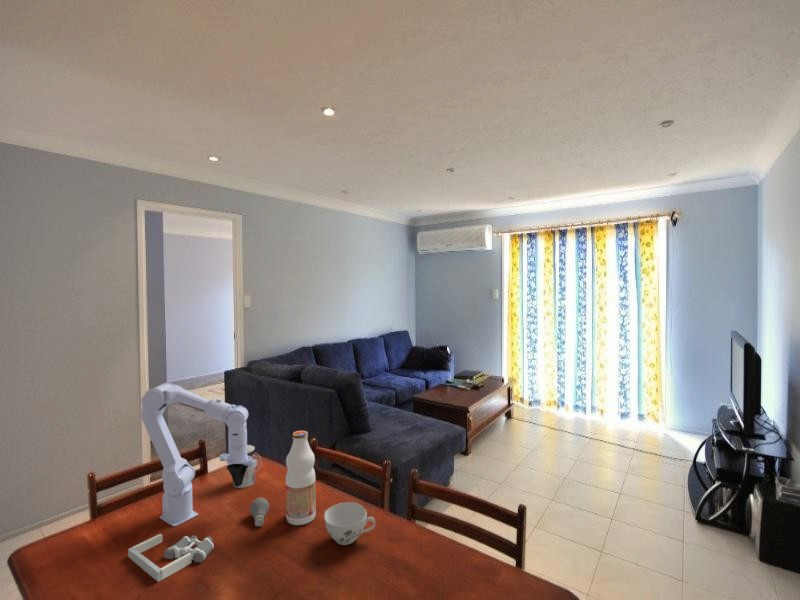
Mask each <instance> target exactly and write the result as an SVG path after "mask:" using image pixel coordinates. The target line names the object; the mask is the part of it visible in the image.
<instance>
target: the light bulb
mask: <svg viewBox="0 0 800 600" xmlns="http://www.w3.org/2000/svg"><path fill="white" fill-rule="evenodd" d="M269 509H270V504H269V501H268V500H267V499H266V498H264V497H257V498H255V499H254V500H253V501H252V502H251V503H250V506H249V512H250V515H251V516H252V517H253V519H254V525H255V527H259V528H260V527H262V526H263V525H264V521H265V520H264V519H265V517H266V515H267V513H268V512H269Z"/></svg>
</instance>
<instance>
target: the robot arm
mask: <svg viewBox="0 0 800 600" xmlns="http://www.w3.org/2000/svg"><path fill="white" fill-rule="evenodd" d="M140 402H141V404H142V407H141V416H140V417H141V421H142V422H143V425H144V428H145V429H146V431H147V434H148V436H149V438H150V440H151V443H152V445H153V447H154V450H155V451H156V453H157V456H158V458H159V461H160V462H161V465H162V467H163V469H162V474H161V479H162V481H163V485H162V487H163V491H164V493H163V495H162V499H161V501H162V502H161V503H162V515H159V519H161V520H162V521H164V522H165V523H167V524H168V525H170V526H172V527H176V526H179V525H181V524H183V523H185V522H187V521H189V520H191V519H193V518H195V517H198V516H199V513H198V512H196V511H194V510H193V509H194V508H193V507H194V506H193V484H192V481H193V480H194V478H195V476H196V470H195V469H194V467H193V466H192V465H190V464H189V462H188V460H187V459H185V458H183V457H181V453H180V452H179V450H178V446H177V445H176V443H175V441H174V438H173V436H172V433H171V432H170V429H169V427H168V425H167V423H166V421H165V418H164V415H163V414H164V412H165V411H166V408H167V407H168V405H172V404H177V403H181V404H184V405H187V406H190V407H194V408H196V409H199V410H202V411H203V412H204V414H205V415H206V416H207V417H210V418H212V419H215V420H218V421H221V422H223V423H225V424H226V426H227V427H228V440H227V441H228V453H225V452H224V453H221V454H219V462H224V461H225V462H226V464H227V466H226V469H227V470H228V472H229V474H230V476H231V478H232V482H234V485H235V486H237V487H238V486H240V485H242V482H243V478H244V476H246V475H245V473H246V472H247V471H246V470H247V468H248V467H250V466H251V468H253V469H254V467H257V466H258V459H255V458H254V457H253V458H254V459H253V458H251V457H252V456H250V455H248V454H247V445H248V429H247V427H248V426H247V420H248V418H249V411H248V409H247V407H244V406H243V405H236V404H231V403H228V402H225V401H223V399H222V398H221V397H218V398H213V399H210V400H209V399H206V398H205V397H203V396H201V395H198V394H196V393H194V392H192V391H190V390H187V389H186V388H183V387H181V386H180V385H177V384H174V383H171V382H164V383H161V384H160V385H157V386H155V387H154V388H153V387H152V388H150V389H148V390H147V391H146V392H145V393H144V395H142V398H141V400H140ZM245 421H246V422H245ZM234 485H233V486H234Z"/></svg>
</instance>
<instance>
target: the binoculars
mask: <svg viewBox="0 0 800 600" xmlns="http://www.w3.org/2000/svg"><path fill="white" fill-rule="evenodd" d="M214 544H215V543H214V541H213V538H212V537H211V536H206V537H205V538H204V539H203V540H201V541H200V540H199V539H198V537H197V536H196V535H191V536H190V537H189V536H187V535H185V536H183V537H182V538H181V539H180V540H179V541H177V542H175V543H174V544H173V545H171V546H169V547H168V548H167V549H166V550H164V551H163V558H164V559H165V560H166V559H168V560H173V559H174V558H175V559H179V558H181V557H182V556H184V555H186V554H188V553H191V561H193V562H194V563H200V564H201V563H203V561H204V560H205V559H206V558H207V556H208V555H209V554H210V553H211V552H212V550H213V549H214V546H215V545H214ZM196 545H197V546H196ZM193 546H195V547H194V548H192V547H193Z"/></svg>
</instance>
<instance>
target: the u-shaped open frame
mask: <svg viewBox="0 0 800 600" xmlns="http://www.w3.org/2000/svg"><path fill="white" fill-rule="evenodd" d="M161 543H163V534H162V533H159V534H156V535H154V536H152V537H150V538H149V539H146V540H144V541H142V542H140V543H138V544H136V545H134V546H132V547H131V546H130V547H129V548H128V549H127V550H128V554H127V556H128V558H129V559H130V560H131V561H133V562H134V563H135V564H136V565H137V566H139V567H140V568H141V569H142V570H143V571H144V572H145V573H147V574H148V575H149V576H150V577H151V578H153V579H154V580H155V581H156V582H157V583H159V582H161V581H162V580H163V581H164V579H166V578H168V577H170V576H172V575H173V574H175V573H176V572H178V571H181V570H182V569H184V568H185V567H187V566H189V565H190V564H192V560H191V553H189V552H188V553H187V554H185V555H183V556H182V557H180V558H176V559H174V560H173V561H172V562H169V563H168V564H166V565H164V566H163V567H161V568H160V567H159V566H158V565H156V564H155V563H154V562H152V561H151V560H150V559H149V558H148V557H146V556H145V555H143V554H142V553H143V552H145V551H147V550H149V549H152V548H153V547H156V546H157V545H159V544H161Z"/></svg>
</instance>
